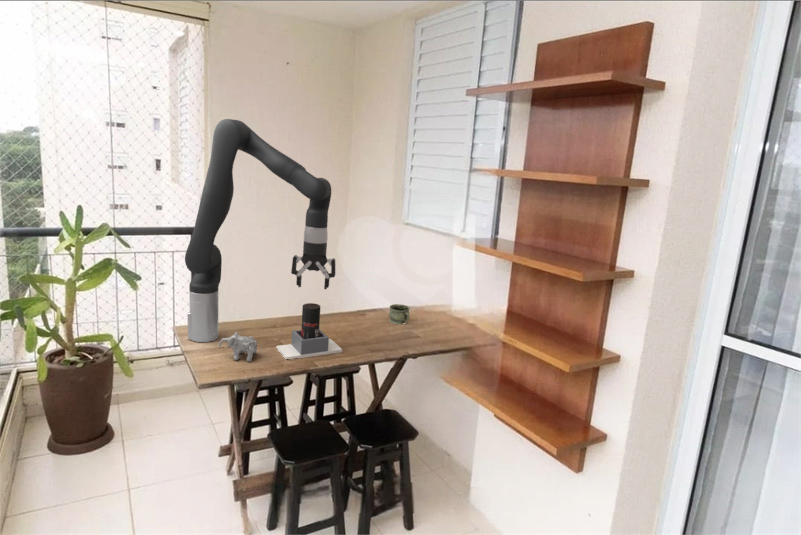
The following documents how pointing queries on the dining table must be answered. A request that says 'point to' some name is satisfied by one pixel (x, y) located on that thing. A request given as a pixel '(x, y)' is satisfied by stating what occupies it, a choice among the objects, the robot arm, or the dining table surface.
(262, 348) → the dining table surface
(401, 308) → the vessel
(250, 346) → the gray elephant figurine
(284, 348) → the socket stand
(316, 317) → the deodorant
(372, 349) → the dining table surface
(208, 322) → the robot arm
